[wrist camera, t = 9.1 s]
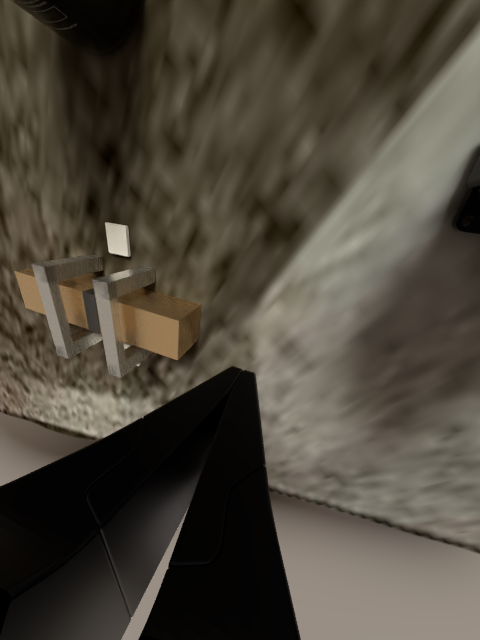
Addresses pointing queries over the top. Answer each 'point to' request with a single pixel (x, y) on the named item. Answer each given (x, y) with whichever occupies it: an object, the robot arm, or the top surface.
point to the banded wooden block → (125, 313)
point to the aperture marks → (118, 246)
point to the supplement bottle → (85, 20)
